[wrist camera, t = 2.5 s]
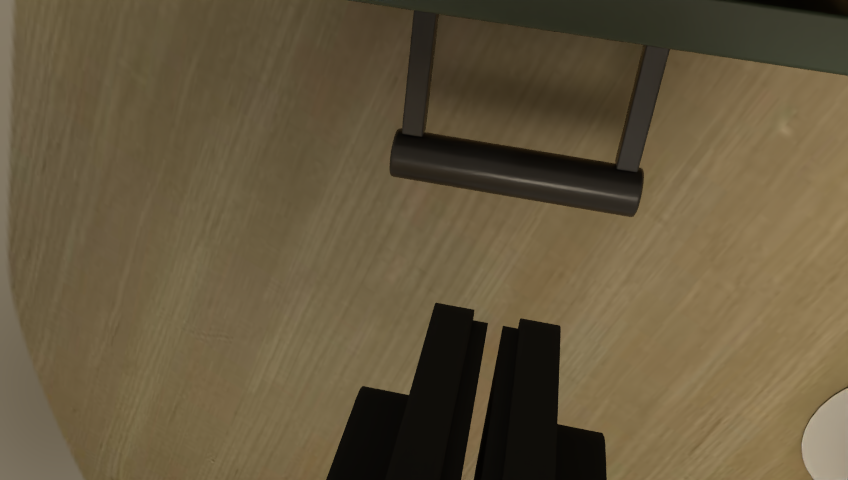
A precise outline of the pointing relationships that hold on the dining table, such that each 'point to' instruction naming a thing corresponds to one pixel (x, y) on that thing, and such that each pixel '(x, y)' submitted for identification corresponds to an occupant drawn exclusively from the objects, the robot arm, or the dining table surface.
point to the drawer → (658, 33)
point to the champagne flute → (828, 440)
